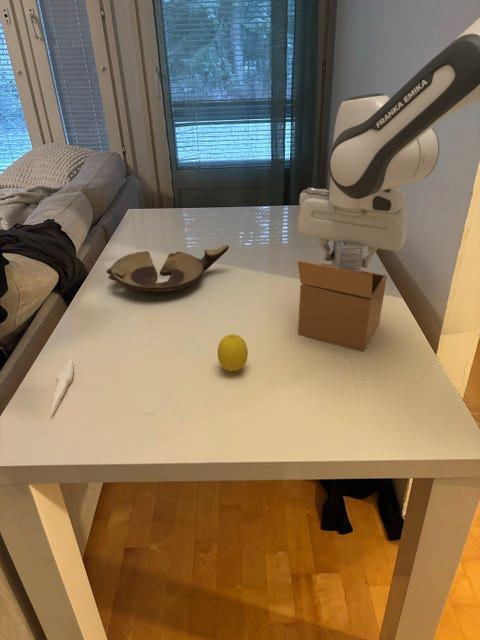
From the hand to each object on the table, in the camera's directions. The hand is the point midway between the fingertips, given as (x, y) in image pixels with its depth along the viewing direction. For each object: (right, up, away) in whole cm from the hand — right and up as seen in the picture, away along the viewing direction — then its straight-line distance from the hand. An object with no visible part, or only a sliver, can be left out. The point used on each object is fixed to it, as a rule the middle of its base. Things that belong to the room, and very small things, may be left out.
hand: (346, 263), depth 91 cm
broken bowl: (-39, -2, +28) cm, 48 cm away
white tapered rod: (-53, -24, -8) cm, 58 cm away
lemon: (-22, -21, -4) cm, 31 cm away
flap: (-3, -3, -5) cm, 7 cm away
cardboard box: (0, -13, +8) cm, 15 cm away
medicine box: (0, -3, +2) cm, 4 cm away
